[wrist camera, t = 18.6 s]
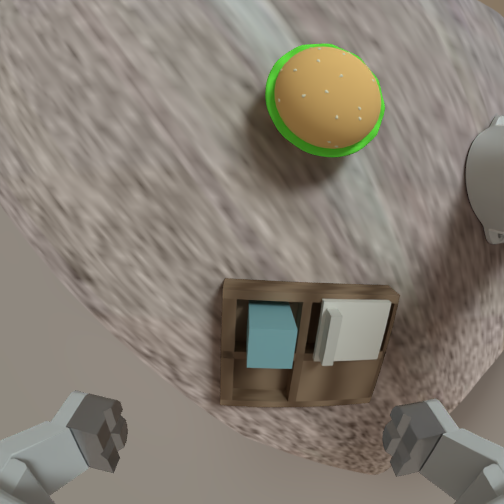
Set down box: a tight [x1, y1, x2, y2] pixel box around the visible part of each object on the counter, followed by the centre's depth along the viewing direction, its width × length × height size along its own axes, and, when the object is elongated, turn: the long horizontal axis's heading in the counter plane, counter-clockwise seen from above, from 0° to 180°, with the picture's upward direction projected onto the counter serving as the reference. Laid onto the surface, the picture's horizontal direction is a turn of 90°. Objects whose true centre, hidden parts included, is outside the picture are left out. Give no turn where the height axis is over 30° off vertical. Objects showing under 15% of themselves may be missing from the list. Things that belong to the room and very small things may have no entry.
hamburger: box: [265, 44, 385, 157], centre depth 27 cm, size 12×12×9 cm
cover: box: [313, 299, 392, 366], centre depth 32 cm, size 8×8×3 cm
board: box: [220, 278, 400, 407], centre depth 36 cm, size 20×16×4 cm
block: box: [247, 300, 298, 369], centre depth 32 cm, size 4×4×7 cm
